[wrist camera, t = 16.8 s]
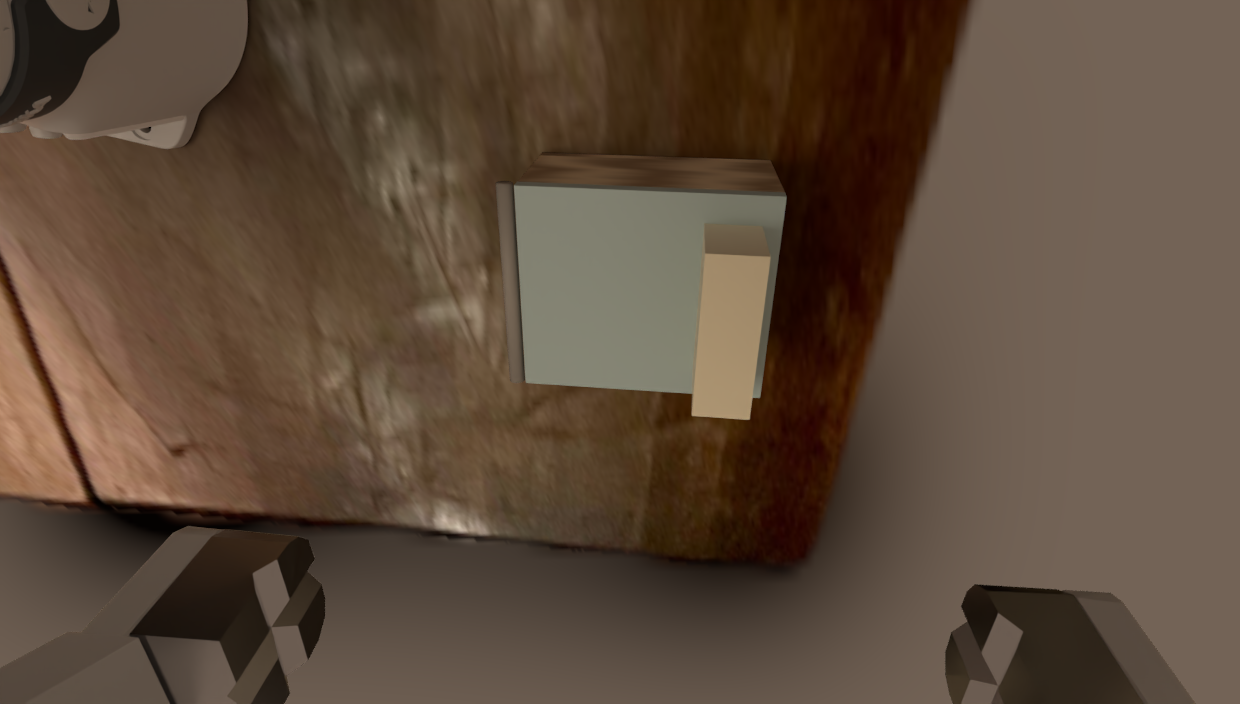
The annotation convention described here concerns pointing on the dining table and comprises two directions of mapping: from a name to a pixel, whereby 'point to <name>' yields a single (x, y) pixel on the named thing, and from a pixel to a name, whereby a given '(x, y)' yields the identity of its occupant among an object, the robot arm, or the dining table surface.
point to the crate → (654, 172)
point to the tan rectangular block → (729, 319)
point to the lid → (616, 279)
